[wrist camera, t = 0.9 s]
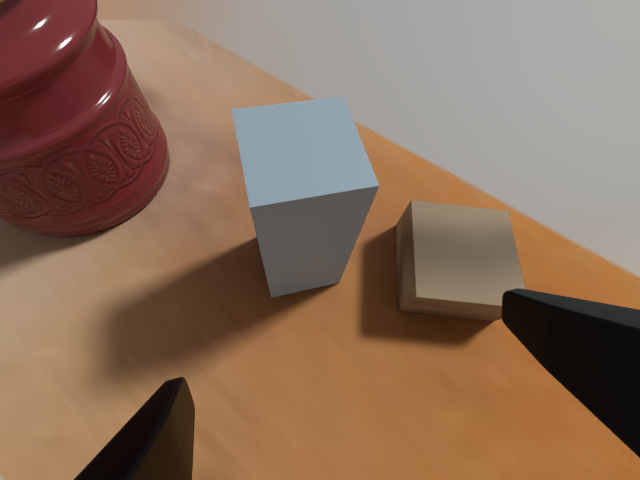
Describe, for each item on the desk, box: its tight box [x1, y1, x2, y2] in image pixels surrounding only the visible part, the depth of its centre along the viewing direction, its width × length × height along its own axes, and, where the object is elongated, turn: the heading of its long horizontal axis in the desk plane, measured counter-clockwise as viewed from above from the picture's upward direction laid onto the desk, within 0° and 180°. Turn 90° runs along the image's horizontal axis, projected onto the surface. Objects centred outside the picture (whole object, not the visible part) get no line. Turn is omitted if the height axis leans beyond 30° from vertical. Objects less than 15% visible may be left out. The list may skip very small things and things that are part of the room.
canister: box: [0, 0, 170, 236], centre depth 18 cm, size 13×13×18 cm
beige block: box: [396, 200, 525, 321], centre depth 22 cm, size 7×7×4 cm
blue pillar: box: [232, 97, 379, 298], centre depth 18 cm, size 5×5×12 cm
